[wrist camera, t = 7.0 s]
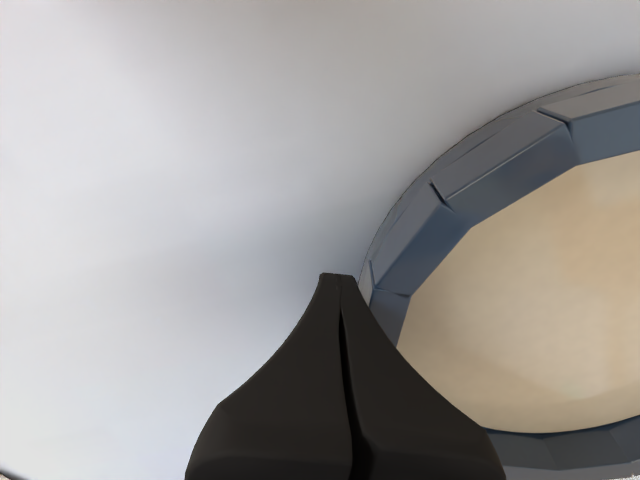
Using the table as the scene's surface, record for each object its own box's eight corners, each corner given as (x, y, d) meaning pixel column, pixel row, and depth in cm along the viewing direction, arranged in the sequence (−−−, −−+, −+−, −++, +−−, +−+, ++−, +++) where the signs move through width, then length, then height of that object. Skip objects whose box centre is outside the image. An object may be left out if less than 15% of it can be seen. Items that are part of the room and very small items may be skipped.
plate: (650, 441, 18) (695, 499, 16) (332, 410, 18) (332, 466, 15) (972, 108, 10) (1157, 130, 8) (406, 37, 10) (429, 40, 7)
